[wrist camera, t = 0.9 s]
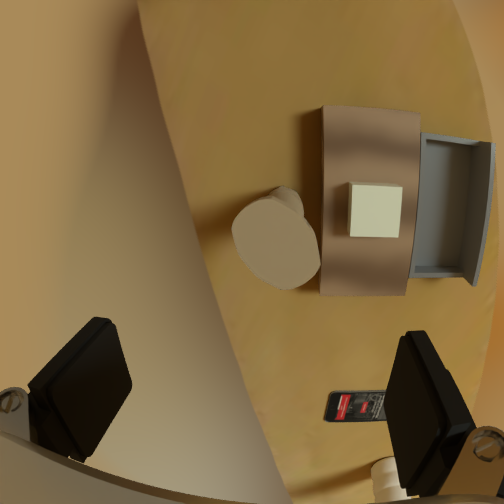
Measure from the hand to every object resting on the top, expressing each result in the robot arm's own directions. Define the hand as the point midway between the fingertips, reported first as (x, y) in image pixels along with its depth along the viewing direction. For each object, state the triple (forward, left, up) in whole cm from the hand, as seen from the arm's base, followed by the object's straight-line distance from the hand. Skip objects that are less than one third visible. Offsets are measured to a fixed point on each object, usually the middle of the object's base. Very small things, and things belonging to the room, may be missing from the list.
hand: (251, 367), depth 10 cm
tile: (0, +9, -24) cm, 26 cm away
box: (0, +18, -27) cm, 33 cm away
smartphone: (+32, +15, -28) cm, 45 cm away
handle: (0, 0, -27) cm, 27 cm away
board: (0, +9, -27) cm, 28 cm away
